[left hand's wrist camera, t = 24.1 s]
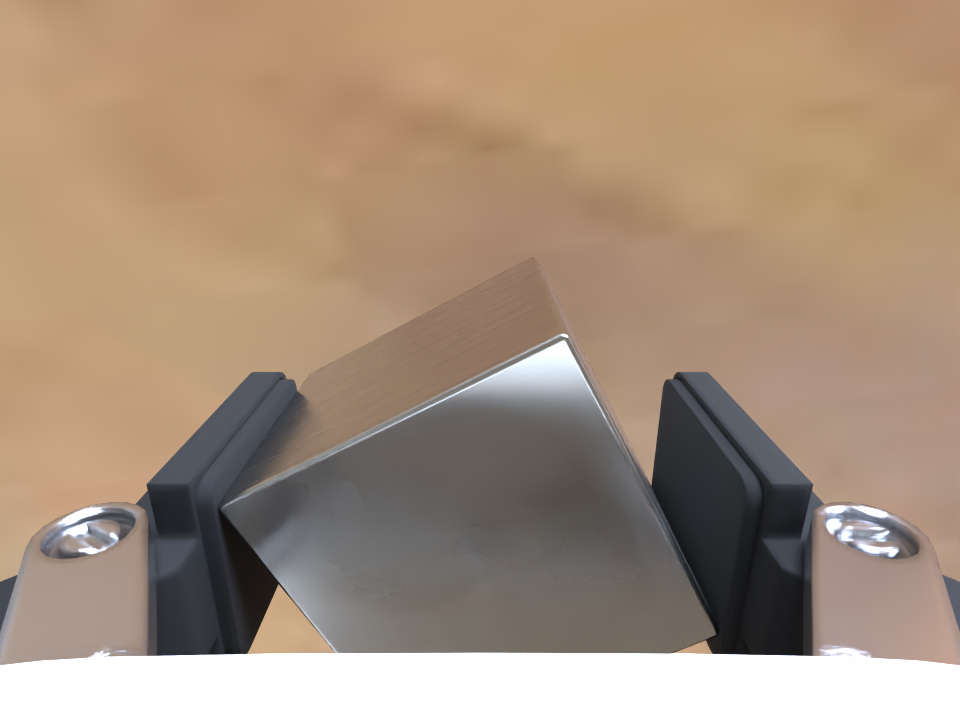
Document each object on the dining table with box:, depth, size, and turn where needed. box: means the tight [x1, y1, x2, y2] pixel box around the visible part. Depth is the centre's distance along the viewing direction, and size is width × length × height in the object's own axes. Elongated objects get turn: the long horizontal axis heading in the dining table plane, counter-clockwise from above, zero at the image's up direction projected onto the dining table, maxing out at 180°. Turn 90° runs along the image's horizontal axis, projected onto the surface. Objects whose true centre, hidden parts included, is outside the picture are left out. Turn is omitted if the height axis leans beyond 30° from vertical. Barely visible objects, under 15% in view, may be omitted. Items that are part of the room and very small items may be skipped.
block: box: [218, 258, 719, 654], centre depth 10 cm, size 5×5×4 cm
